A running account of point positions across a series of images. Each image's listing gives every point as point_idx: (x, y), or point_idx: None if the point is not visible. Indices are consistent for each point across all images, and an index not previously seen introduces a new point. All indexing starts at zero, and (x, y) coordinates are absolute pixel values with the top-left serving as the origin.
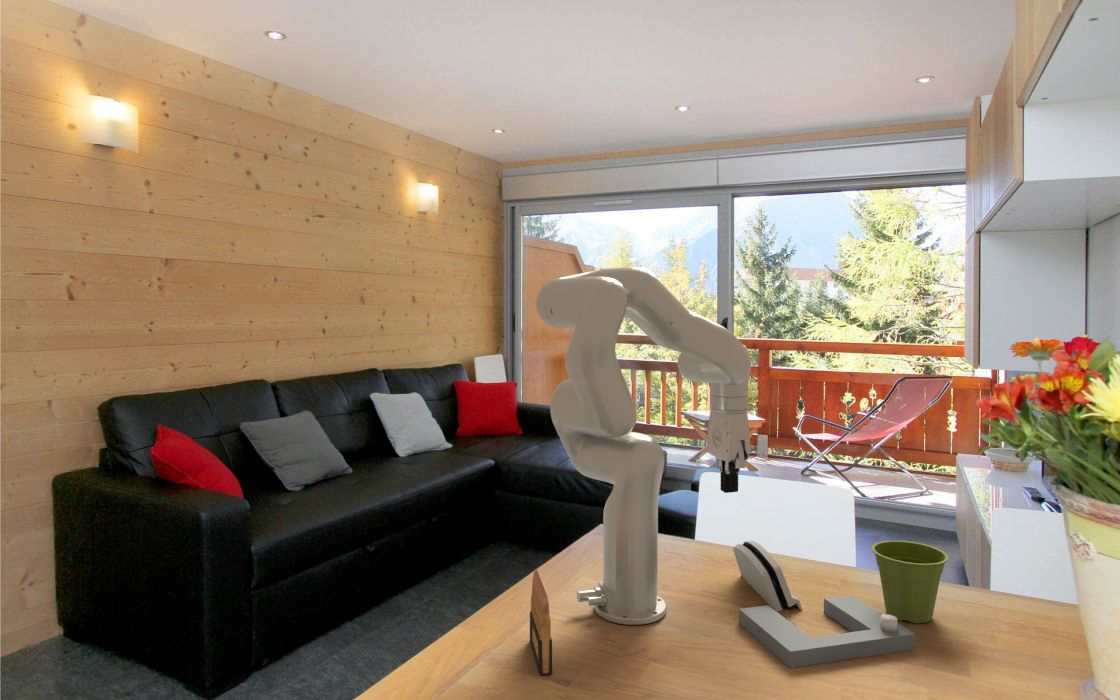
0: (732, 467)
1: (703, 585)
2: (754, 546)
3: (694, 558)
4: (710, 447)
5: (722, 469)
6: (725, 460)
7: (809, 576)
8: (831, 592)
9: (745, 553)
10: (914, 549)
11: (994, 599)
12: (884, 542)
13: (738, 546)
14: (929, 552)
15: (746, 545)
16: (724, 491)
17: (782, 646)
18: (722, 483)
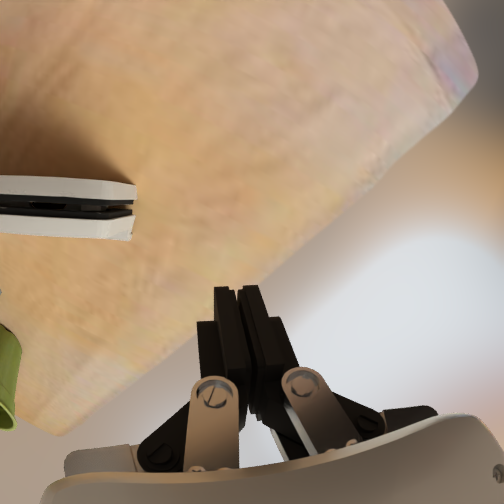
0: (153, 442)
1: (104, 75)
2: (7, 214)
3: (272, 128)
4: (456, 471)
5: (281, 387)
6: (105, 479)
7: (116, 307)
8: (51, 302)
9: (2, 178)
10: (11, 419)
11: (59, 417)
12: (4, 409)
13: (64, 186)
14: (2, 421)
15: (61, 210)
16: (214, 289)
17: None
18: (247, 314)
